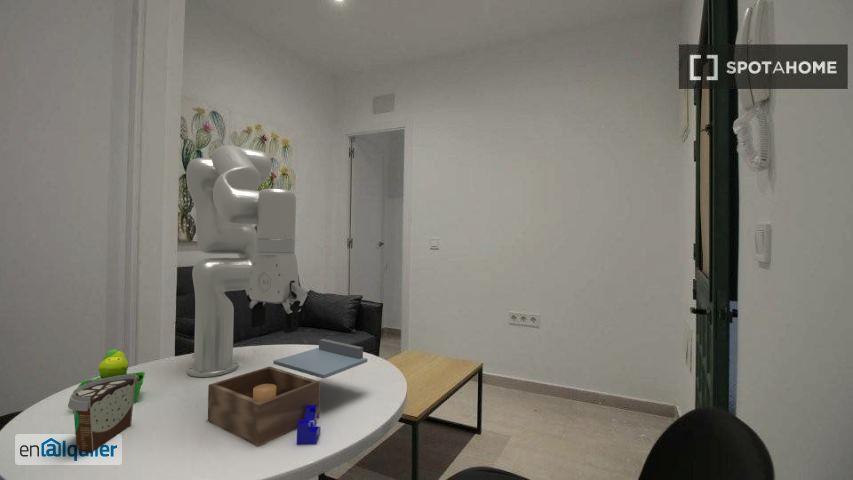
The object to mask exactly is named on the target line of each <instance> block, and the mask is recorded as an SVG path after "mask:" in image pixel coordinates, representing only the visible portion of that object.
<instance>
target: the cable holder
mask: <svg viewBox="0 0 853 480" xmlns="http://www.w3.org/2000/svg"><path fill="white" fill-rule="evenodd" d="M317 419H318V418H317V405H307V406H306V408H305V417H304V420H299V421H298V423H297V429H296V445H297V446H303V445H305V446H306V445H308V446H309V445H317V444H318V441H319V438H320V436H321V434H322V433H321V429H322V427H321V426H318V425H317V423H318V422H317Z"/></svg>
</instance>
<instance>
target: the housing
mask: <svg viewBox="0 0 853 480" xmlns="http://www.w3.org/2000/svg"><path fill="white" fill-rule="evenodd" d="M262 384H274V385H276V396H275V397H273V398H270V399H267V400H265V401H262V402H260V401H258V400H255V399H253V388H254V387H256V386H258V385H262ZM207 391H208V392H207V393H208V394H207V395H208V396H207V422H208V421H209V422H208V423H210V424H212V425H214V426H216V427H217V428H220V429H221V430H224V431H226V432H228V433H230V434H232V435H234V436H236V437H238V438H240V439H241V440H244V441H246V442H248V443H249V444H252V445H253V446H255V447H256V448H257V447H258V448H259V447H261V446H264V445H266V444H268V443H270V442H272V441H275V440H276V439H278V438H280V437H282V436H284V435H286V434H289V433H290V432H292V431H293V432H294V431H295V430H297V423H298V421H299V420H304V417H305V408H306V406H307V405H317V419H319V418H320V403H321V402H320V400H321V399H320V396H321V394H320V393H321V381H319V380H316V379H312V378H309V377H306V376H302V375H299V374H296V373H293V372H289V371H286V370H283V369H280V368H276V367H273V366H267V367H262V368H260V369H257V370H253V371H250V372H247V373H243V374H240V375H236V376H232V377H230V378H226V379H224V380H220V381H219V380H218V381H216V382H213V383H209V384H208V388H207Z"/></svg>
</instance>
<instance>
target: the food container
mask: <svg viewBox="0 0 853 480" xmlns="http://www.w3.org/2000/svg"><path fill="white" fill-rule="evenodd" d="M135 384H137V377H136V374H132V375H121V376H114V377H109V378H104V379H100V380H96V381H93V382H90V383H87V384H84V385H82V386H80V387H78V386H77V387H76V388H75V389H74V390H73V392H72V394H71V395H70V397H69V401H68V404H67V407H68V409H70V410H72V411H73V420H74V431H75V433H74V434H75V442H76V443H75V445H76V449H77V451H80V452H83V453H93V452H95V451H96V450H97V449H99V448H100V447H102V446H104V444H107V442H109V441H111V440H112V439H113V438H115V437H117V436H118V435H119V434H121V433H123V431H125V430H126V429H128V428H130V427H132V420H133V419H132V418H133V410H134V403H133V401H134V391H135Z"/></svg>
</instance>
